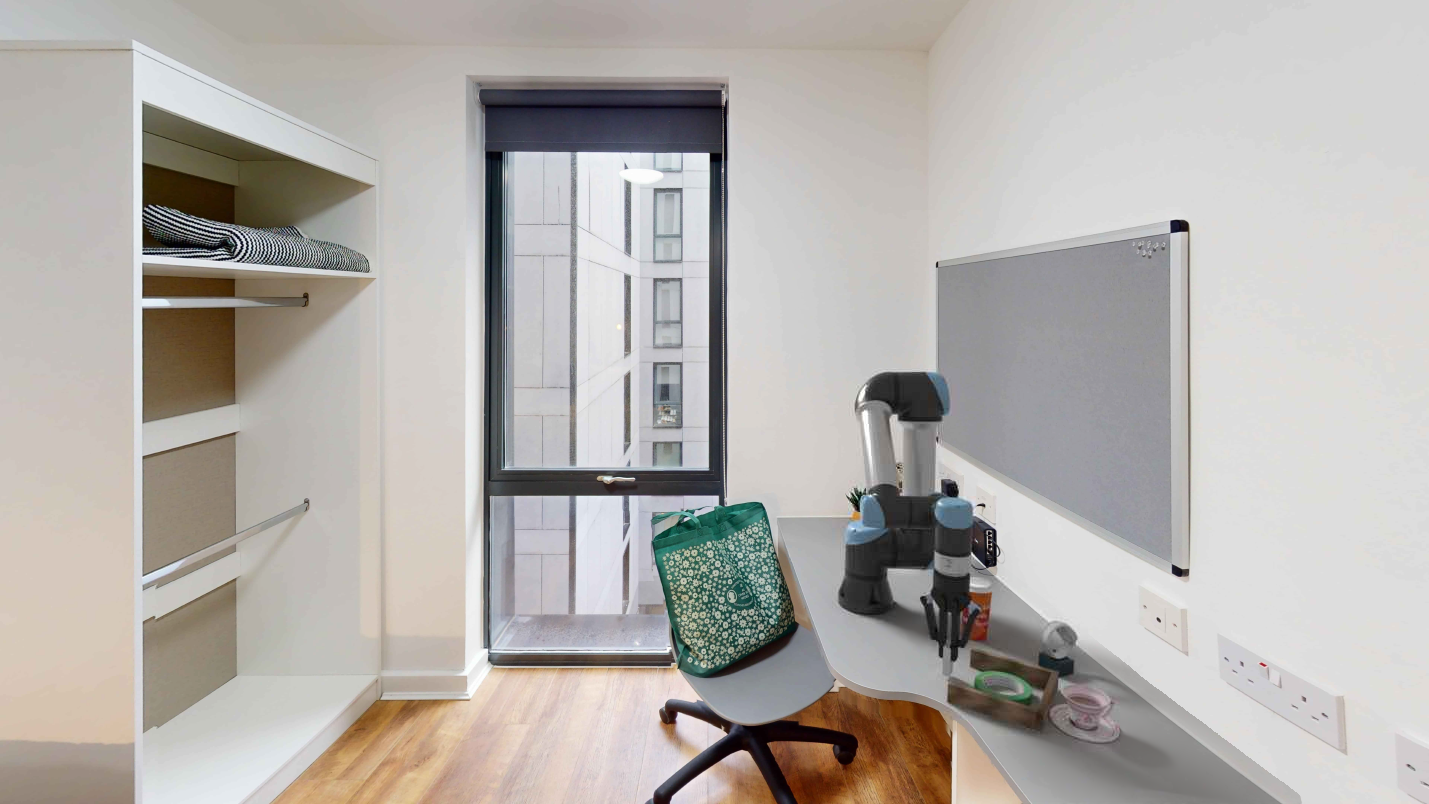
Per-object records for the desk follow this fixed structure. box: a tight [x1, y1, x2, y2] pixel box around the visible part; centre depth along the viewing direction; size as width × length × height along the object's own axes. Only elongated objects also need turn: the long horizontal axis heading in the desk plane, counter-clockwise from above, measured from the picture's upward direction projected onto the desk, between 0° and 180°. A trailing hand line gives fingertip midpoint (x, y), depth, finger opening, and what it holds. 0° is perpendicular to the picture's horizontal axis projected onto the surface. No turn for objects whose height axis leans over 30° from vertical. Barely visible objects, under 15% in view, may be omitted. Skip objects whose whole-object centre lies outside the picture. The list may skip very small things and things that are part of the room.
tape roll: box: [973, 671, 1033, 707], centre depth 135 cm, size 11×11×3 cm
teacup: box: [1048, 683, 1121, 744], centre depth 125 cm, size 12×12×6 cm
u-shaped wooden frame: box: [946, 647, 1060, 734], centre depth 134 cm, size 18×18×4 cm
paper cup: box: [961, 576, 995, 642], centre depth 160 cm, size 8×8×14 cm
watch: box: [1037, 620, 1079, 678], centre depth 144 cm, size 6×8×11 cm
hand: (947, 672), depth 142 cm, fingers closed
